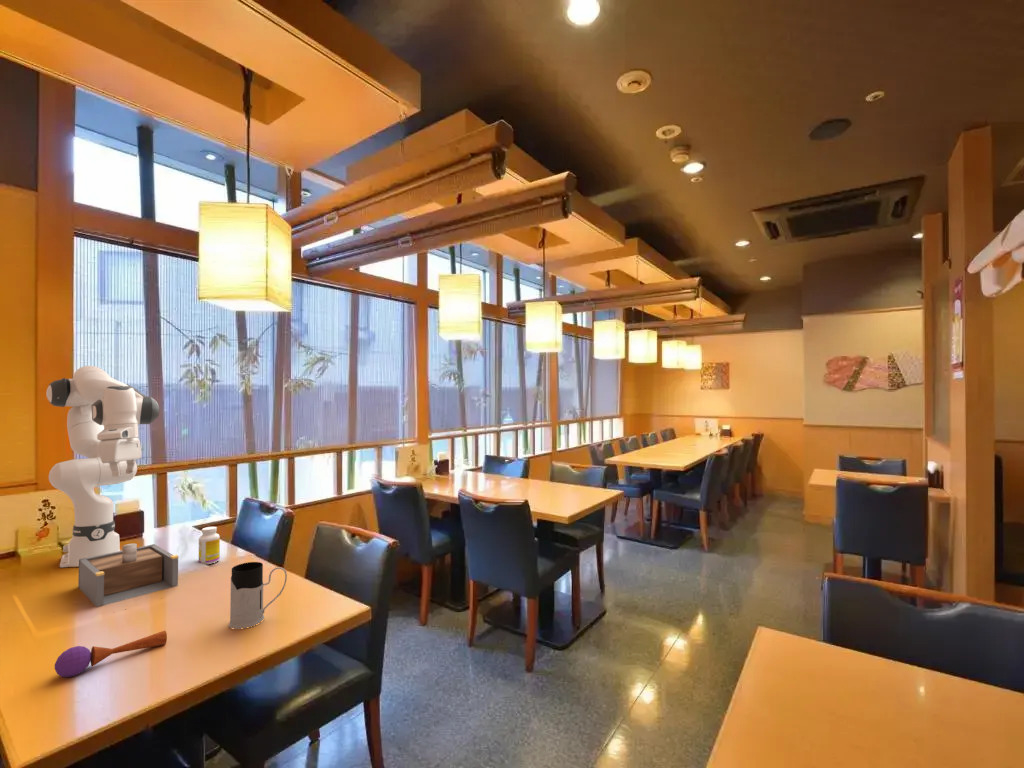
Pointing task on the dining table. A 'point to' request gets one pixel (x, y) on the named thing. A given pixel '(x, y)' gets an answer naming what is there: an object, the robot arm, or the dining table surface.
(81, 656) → the purple maraca
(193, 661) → the dining table surface
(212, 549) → the supplement bottle
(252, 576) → the glass holder
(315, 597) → the dining table surface
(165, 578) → the bay
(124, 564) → the wooden block with knob
